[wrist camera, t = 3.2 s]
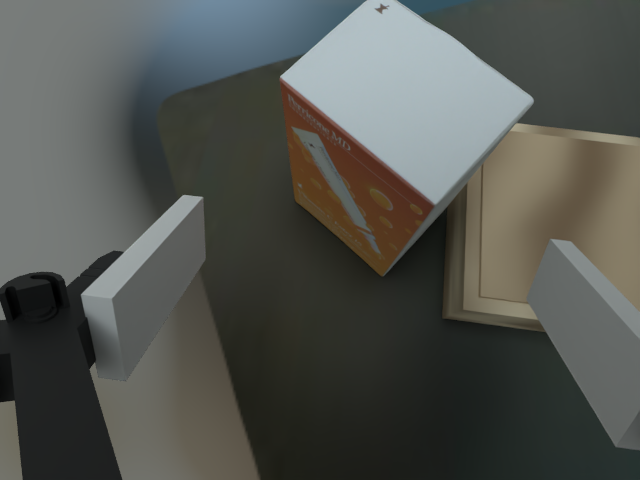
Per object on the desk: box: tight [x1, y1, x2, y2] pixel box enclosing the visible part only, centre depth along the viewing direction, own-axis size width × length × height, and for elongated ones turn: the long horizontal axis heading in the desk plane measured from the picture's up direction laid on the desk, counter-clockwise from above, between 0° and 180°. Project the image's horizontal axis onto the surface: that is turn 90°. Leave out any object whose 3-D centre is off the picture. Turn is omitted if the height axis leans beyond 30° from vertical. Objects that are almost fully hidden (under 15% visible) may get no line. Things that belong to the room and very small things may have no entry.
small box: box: [280, 0, 534, 276], centre depth 22 cm, size 8×6×13 cm
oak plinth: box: [442, 123, 640, 332], centre depth 26 cm, size 12×12×4 cm
